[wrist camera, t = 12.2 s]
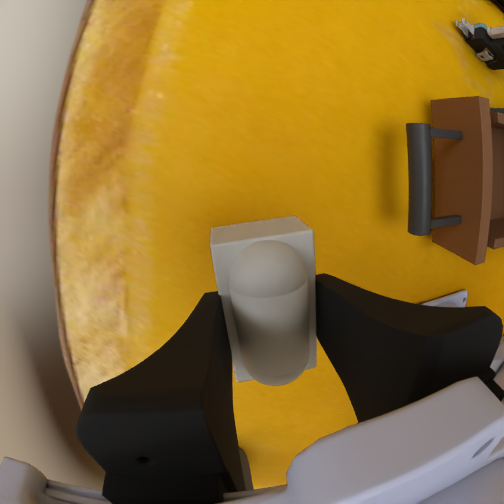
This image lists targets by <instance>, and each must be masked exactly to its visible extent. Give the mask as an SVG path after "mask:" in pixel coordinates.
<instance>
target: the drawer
mask: <svg viewBox="0 0 504 504" xmlns="http://www.w3.org/2000/svg"><path fill="white" fill-rule="evenodd" d="M431 110H432V121H433V128H430V124H422V123H407V124H406V132H407V147H408V172H409V211H408V232H409V233H410V234H413V235H418V236H425V235H429V234H430V231H431V229H432V228H433V239H432V242H434V243H436V244H438V245H440V246H442V247H444V248H445V249H447V250H449V251H451V252H453V253H455V254H456V255H458V256H460V257H462V258H464V259H465V260H467V261H469V262H471V263H472V264H474V265H477V264H480V263H483V262H484V261H485V255H486V249H487V246H488V247H490V248H492V249H496V248H500V247H503V246H504V114H503V113H499V112H490V107H489V99H486V98H483V97H479V96H475V97H460V98H448V99H437V100H431ZM431 137H434V152H435V207H434V217H433V218H431V213H432V148H431Z"/></svg>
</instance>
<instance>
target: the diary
mask: <svg viewBox="0 0 504 504" xmlns="http://www.w3.org/2000/svg"><path fill="white" fill-rule="evenodd" d="M494 1H495V2H496V3H497V4H498V5H499V6H500V7H501V8H502V9H503V10H504V0H494Z"/></svg>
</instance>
